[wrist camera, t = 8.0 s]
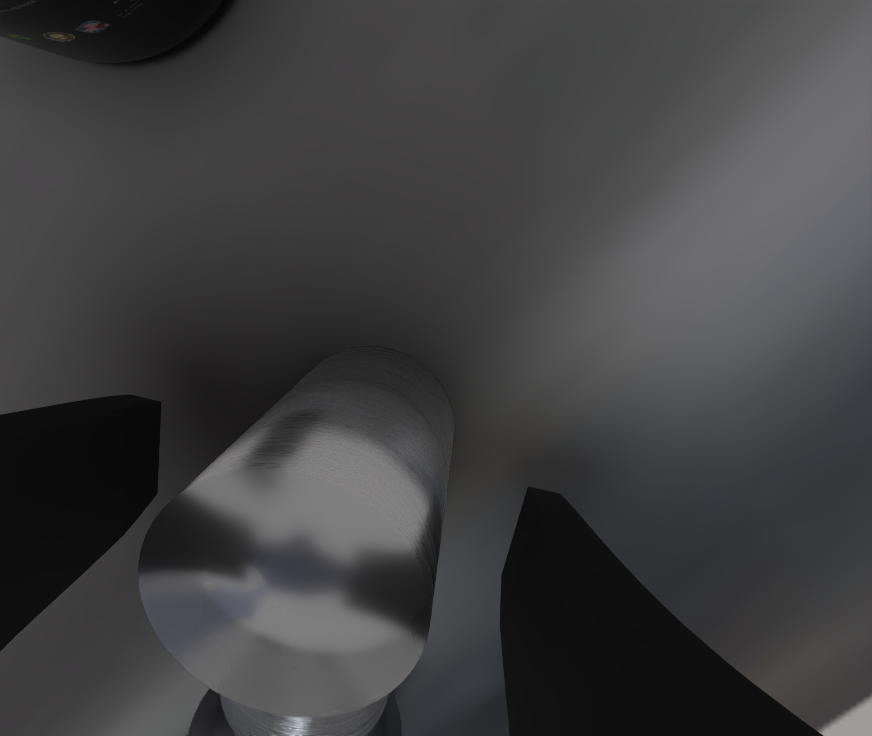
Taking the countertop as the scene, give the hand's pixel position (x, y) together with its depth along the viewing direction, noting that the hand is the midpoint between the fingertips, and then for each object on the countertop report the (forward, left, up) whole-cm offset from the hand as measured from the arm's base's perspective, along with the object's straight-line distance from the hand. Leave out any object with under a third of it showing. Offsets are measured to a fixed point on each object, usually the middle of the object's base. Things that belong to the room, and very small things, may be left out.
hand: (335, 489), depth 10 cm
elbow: (0, -2, -3) cm, 3 cm away
